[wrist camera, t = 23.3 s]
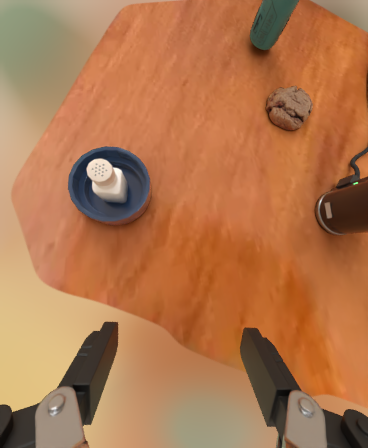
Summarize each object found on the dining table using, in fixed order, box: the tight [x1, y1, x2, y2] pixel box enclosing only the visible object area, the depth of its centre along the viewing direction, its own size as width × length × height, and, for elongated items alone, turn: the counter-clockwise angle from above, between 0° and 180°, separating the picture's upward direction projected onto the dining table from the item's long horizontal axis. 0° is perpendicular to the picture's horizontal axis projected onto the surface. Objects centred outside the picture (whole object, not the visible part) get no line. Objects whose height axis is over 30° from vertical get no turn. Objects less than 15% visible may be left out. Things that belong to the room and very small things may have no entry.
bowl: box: [68, 147, 151, 225], centre depth 31 cm, size 12×12×5 cm
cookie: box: [266, 86, 313, 131], centre depth 39 cm, size 10×11×3 cm
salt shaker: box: [87, 159, 128, 203], centre depth 28 cm, size 4×4×10 cm
